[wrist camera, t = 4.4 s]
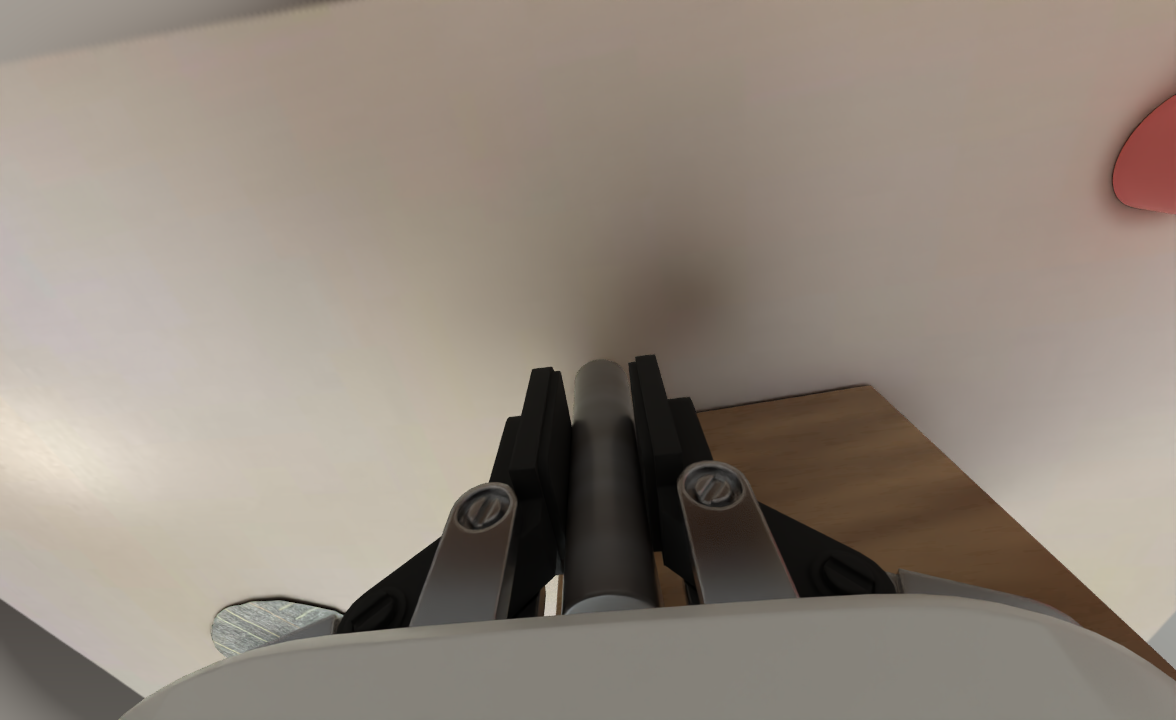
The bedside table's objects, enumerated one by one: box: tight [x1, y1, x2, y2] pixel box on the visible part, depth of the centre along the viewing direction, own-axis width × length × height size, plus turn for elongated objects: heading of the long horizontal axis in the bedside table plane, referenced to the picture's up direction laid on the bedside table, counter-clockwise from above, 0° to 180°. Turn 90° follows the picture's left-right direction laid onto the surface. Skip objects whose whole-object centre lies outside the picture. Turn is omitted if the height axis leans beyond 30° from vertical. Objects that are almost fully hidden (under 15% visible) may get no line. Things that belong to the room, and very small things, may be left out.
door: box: [556, 359, 1176, 681], centre depth 12 cm, size 7×14×16 cm, turn 102°
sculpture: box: [211, 600, 344, 658], centre depth 30 cm, size 12×9×8 cm
